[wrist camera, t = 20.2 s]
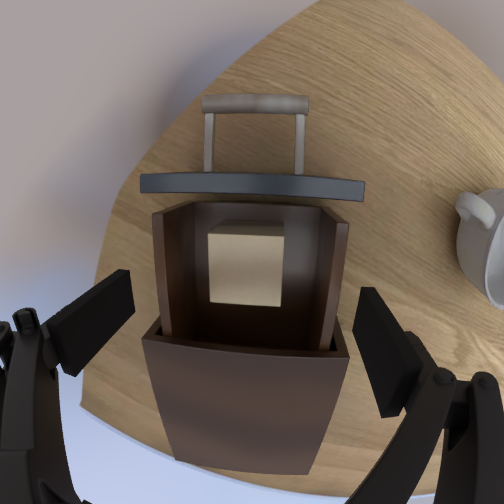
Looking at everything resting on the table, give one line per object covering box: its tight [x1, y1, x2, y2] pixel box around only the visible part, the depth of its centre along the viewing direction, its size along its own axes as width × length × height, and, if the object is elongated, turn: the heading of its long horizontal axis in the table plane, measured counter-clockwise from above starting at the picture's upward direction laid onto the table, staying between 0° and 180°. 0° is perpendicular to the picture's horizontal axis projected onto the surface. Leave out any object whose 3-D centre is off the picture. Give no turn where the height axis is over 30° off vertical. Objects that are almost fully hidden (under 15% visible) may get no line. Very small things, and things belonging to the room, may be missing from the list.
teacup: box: [455, 188, 504, 310], centre depth 18 cm, size 14×11×8 cm
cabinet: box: [141, 315, 350, 475], centre depth 25 cm, size 18×15×10 cm
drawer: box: [140, 94, 365, 351], centre depth 20 cm, size 22×13×8 cm, turn 178°
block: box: [208, 220, 285, 307], centre depth 21 cm, size 5×5×5 cm
